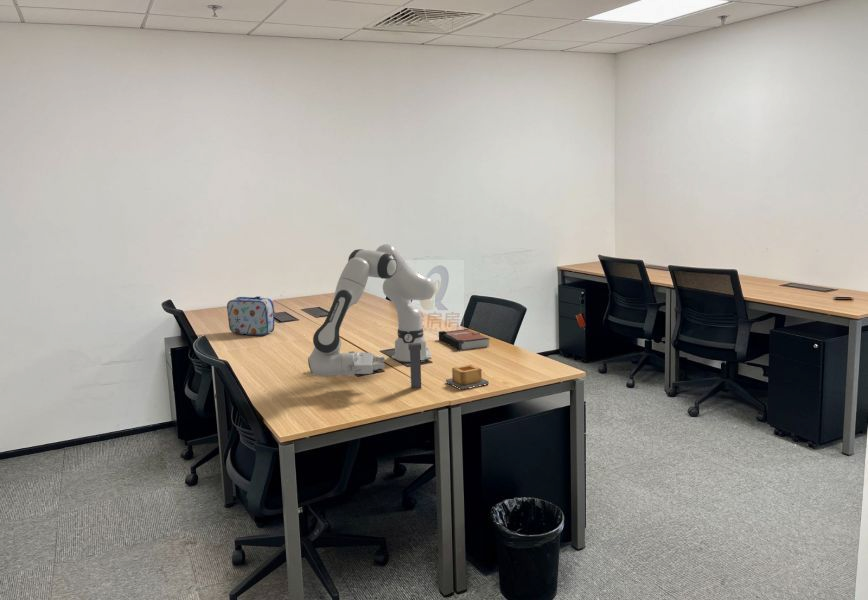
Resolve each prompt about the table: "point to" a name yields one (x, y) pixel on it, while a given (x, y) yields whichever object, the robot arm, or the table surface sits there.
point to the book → (464, 339)
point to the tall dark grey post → (415, 364)
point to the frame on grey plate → (466, 377)
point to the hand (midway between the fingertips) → (384, 362)
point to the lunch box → (251, 315)
